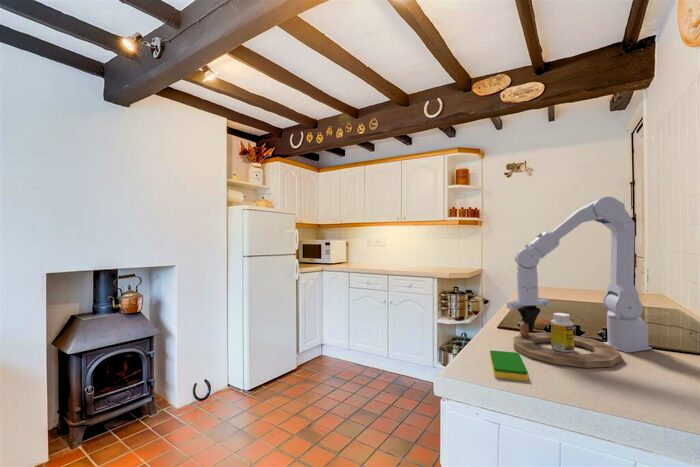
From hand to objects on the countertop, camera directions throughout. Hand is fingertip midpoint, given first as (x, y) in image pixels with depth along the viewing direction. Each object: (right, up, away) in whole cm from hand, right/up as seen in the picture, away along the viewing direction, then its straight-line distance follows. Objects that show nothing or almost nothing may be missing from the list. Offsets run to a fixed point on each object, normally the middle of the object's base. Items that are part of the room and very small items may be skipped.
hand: (529, 330), depth 105 cm
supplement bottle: (+5, -3, -8) cm, 10 cm away
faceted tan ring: (+4, -3, -10) cm, 11 cm away
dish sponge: (-17, -4, -21) cm, 27 cm away
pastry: (+12, -4, +17) cm, 21 cm away
